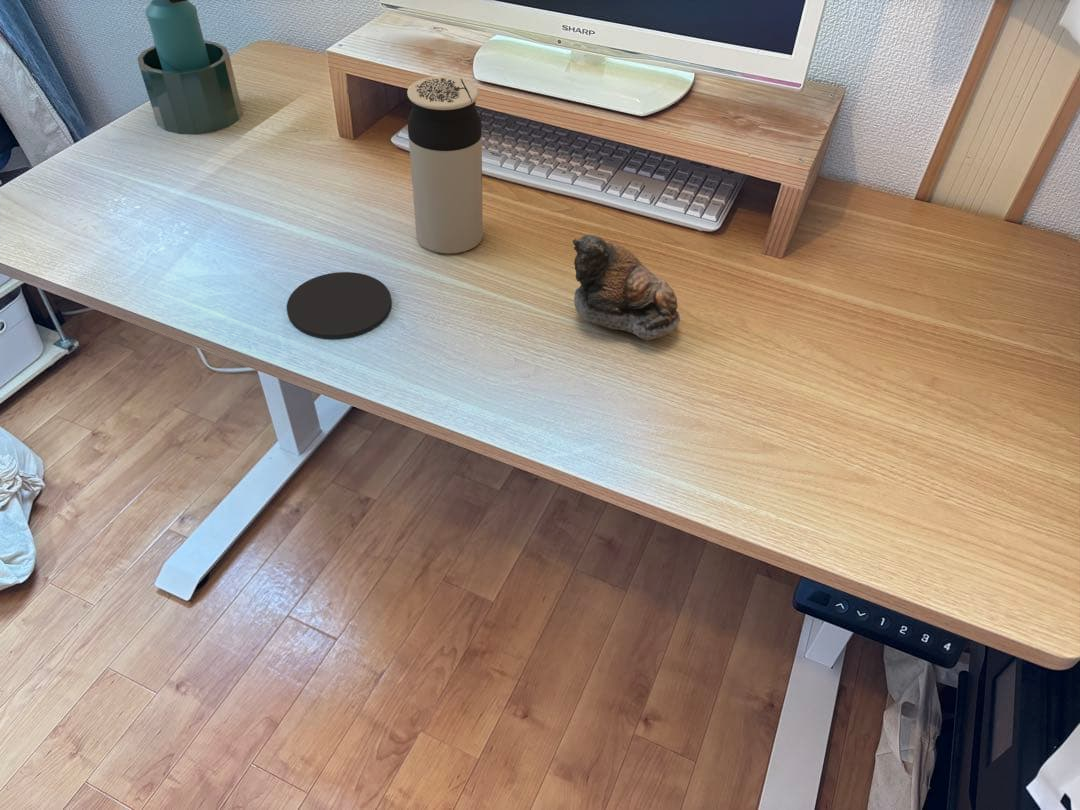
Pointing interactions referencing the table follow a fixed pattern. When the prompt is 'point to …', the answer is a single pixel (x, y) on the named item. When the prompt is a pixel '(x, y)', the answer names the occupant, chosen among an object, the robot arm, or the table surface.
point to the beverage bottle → (177, 35)
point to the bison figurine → (621, 290)
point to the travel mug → (446, 163)
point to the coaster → (339, 305)
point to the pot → (192, 93)
